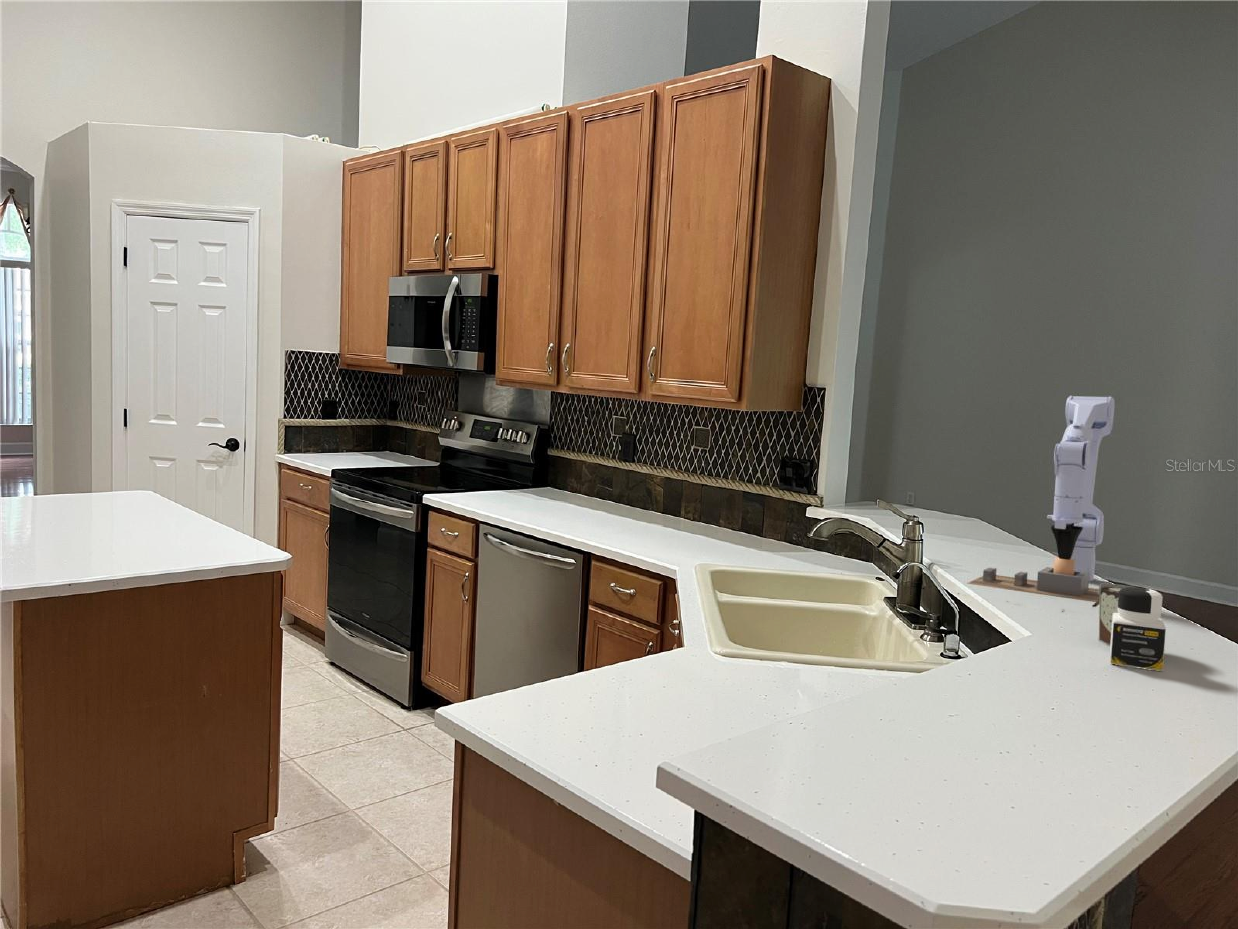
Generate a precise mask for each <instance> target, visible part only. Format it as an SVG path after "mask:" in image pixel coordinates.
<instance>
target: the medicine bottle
mask: <svg viewBox="0 0 1238 929" xmlns="http://www.w3.org/2000/svg"><path fill="white" fill-rule="evenodd" d="M1162 608H1163V595H1162V594H1161V593H1160V592H1158V591H1157V590H1154V589H1150V588H1145V587H1138V586H1137V587H1136V586H1131V587H1126V588H1123V589H1121V590H1120V591H1119V597H1118V610H1117V611H1118V612H1119V613H1113V616H1112V629H1111V643H1110V646H1109V660H1110V661H1109V664H1110V665H1112V664H1115V665H1114V666H1117V665H1122V666H1121V667H1124V666H1128V667H1127V668H1131V667H1140V668H1146V669H1151V670H1156V671H1155V672H1158V671H1161V672H1163V669H1164V656H1165V645H1166V631H1167V629H1166V625H1165V622H1164V620H1163V618H1162ZM1151 670H1150V671H1151Z"/></svg>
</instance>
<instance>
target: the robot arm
mask: <svg viewBox="0 0 1238 929" xmlns="http://www.w3.org/2000/svg"><path fill="white" fill-rule="evenodd" d="M1115 405H1116V404H1115V399H1114V398H1113V396H1074V395H1069V397H1067V399H1066V402H1065V412H1064V413H1065V420H1066V429H1065V430H1064V433H1063V436H1062V439H1061V441H1060V443H1056V444H1055V448H1054V450H1053V452H1054V453H1053V462H1054V475H1055V483H1054V484H1055V485H1054V497H1053V513H1052V514H1048V515H1047V516H1046V519H1050V520H1052V521H1054V525H1051V526H1050V529H1051V532H1052V534H1053V536H1054V539H1055V542H1056V543H1055V544H1056V549H1057V550H1056V551H1057V555H1058V556H1057V557H1059V559H1067V560H1070V559H1071V558H1072V559H1075V566H1074V571H1081V572H1089V582H1092V581H1099V579H1098V578H1095V566H1096V547H1097V546H1099V545H1100V544H1102V542H1103V538H1104V532H1105V530H1104V528H1105V523H1104V520H1105V516H1104V514H1103V511H1102V510H1100V508H1098V507H1097V506H1096V505H1094V504H1093V502H1094V501H1093V500H1094V493H1095V492H1094V491H1095V485H1096V484H1095V483H1096V476H1097V475H1096V474H1097V465H1098V457H1099V448H1100V445H1101V442H1102V439H1103V437H1106V436H1108V435H1110V434H1111V433H1112V430H1113V425H1114V417H1115V408H1116V407H1115Z"/></svg>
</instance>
